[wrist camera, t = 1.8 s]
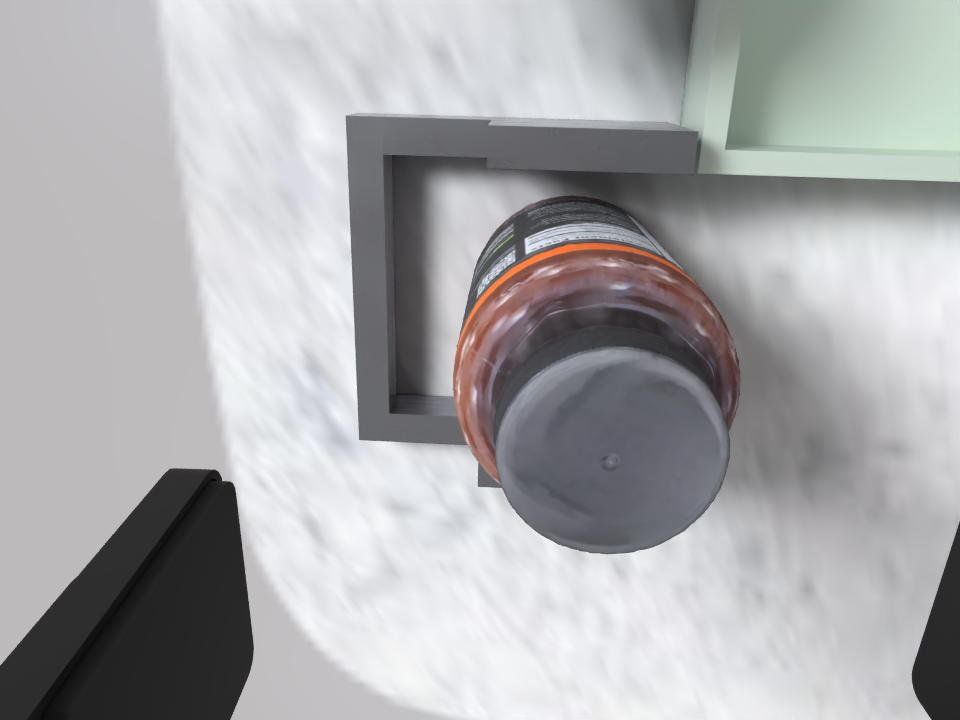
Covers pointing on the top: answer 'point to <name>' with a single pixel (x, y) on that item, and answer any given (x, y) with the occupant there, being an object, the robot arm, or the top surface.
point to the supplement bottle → (594, 378)
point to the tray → (825, 88)
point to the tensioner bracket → (504, 149)
